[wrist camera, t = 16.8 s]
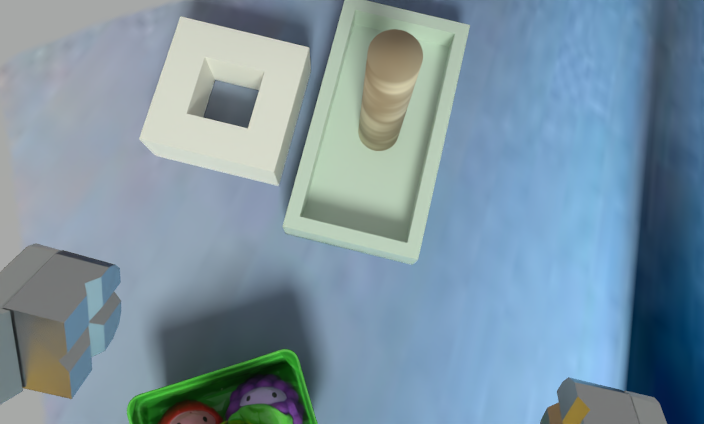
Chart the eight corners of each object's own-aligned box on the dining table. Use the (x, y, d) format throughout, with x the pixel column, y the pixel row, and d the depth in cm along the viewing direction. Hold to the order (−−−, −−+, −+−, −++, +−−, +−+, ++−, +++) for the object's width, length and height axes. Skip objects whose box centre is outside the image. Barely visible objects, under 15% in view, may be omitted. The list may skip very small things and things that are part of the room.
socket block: (311, 70, 49) (309, 47, 45) (278, 186, 47) (273, 172, 43) (192, 42, 49) (180, 16, 45) (155, 155, 47) (139, 139, 43)
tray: (461, 43, 50) (470, 25, 47) (412, 264, 46) (417, 259, 43) (345, 15, 50) (345, -5, 47) (285, 233, 46) (282, 226, 43)
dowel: (402, 117, 47) (428, 36, 35) (393, 155, 47) (416, 86, 34) (363, 108, 47) (374, 23, 35) (354, 145, 47) (361, 73, 34)
